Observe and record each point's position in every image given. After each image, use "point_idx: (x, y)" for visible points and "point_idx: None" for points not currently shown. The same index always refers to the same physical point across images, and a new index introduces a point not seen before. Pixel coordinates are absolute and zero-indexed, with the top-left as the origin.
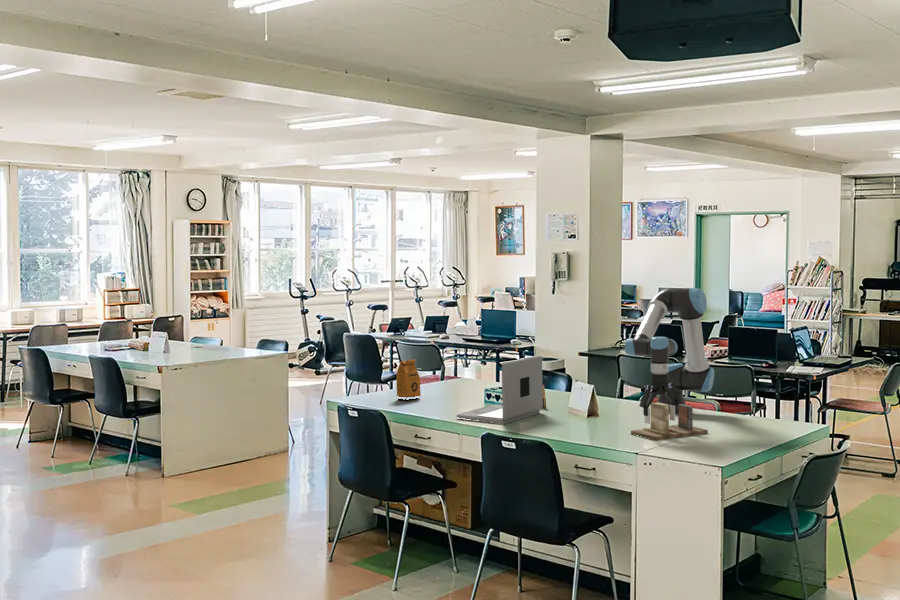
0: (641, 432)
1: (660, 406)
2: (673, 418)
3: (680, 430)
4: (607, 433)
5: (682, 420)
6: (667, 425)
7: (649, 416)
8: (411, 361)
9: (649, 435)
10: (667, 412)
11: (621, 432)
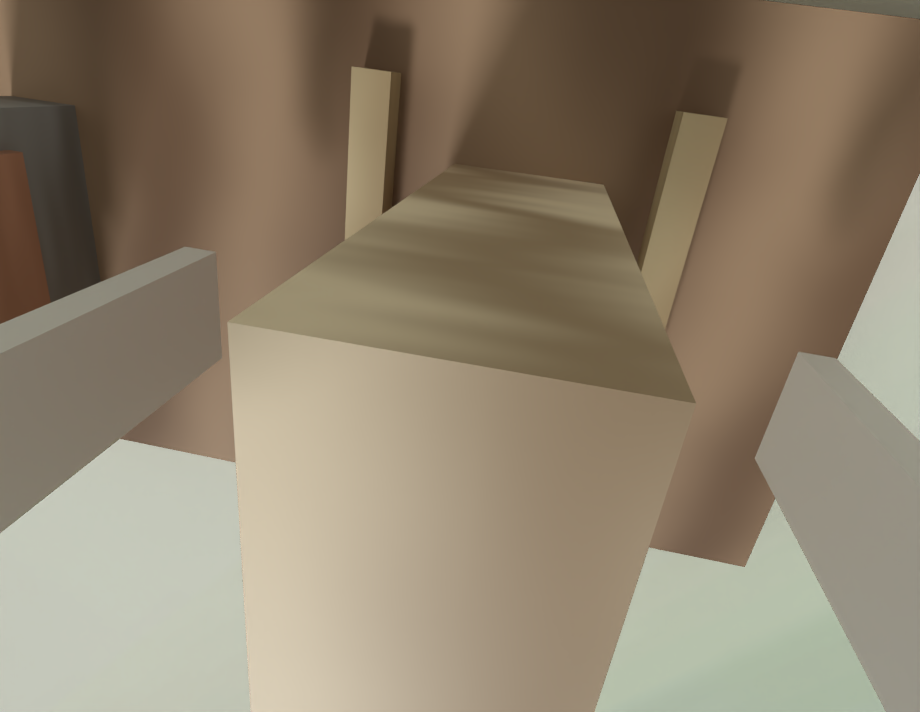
0: (755, 419)
1: (670, 428)
2: (192, 273)
3: (210, 154)
4: (879, 699)
5: (10, 265)
6: (461, 185)
7: (895, 433)
8: None
9: (896, 195)
10: (396, 244)
11: (722, 639)
